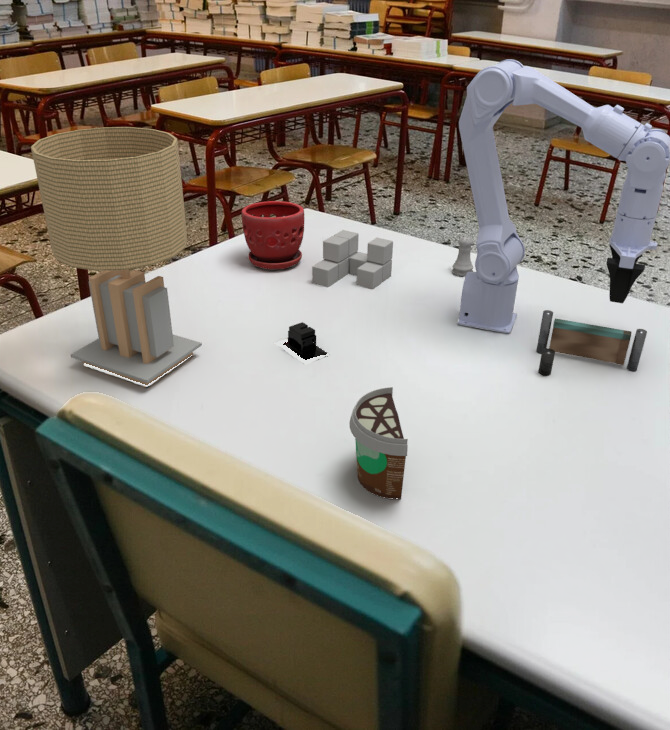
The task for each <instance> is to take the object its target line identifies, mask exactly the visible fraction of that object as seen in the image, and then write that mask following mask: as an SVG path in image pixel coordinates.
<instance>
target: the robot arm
mask: <svg viewBox="0 0 670 730" xmlns="http://www.w3.org/2000/svg"><path fill="white" fill-rule="evenodd" d="M511 104H512V106H514V107H516V106H525V105H538V106H539V107H541V108H544V109H545V110H547V111H548V112H550V113H552V114H555V115H556V116H558V117H561V118H563V119H565V120H566V121H568V122H570V123H572V124H574V125H576V126H577V127H580V128H581V131H582V134H583V138H584V140H585V141H586V142H588V143H590V144H591V145H593V146H595V147H596V148H598V149H600V150H601V151H603V152H605V153H607V154H609V155H610V156H612V157H613V158H615V159H617V160H618V161H621V162H622V161H623V162H625V164H626V167H627V173H626V177H625V180H624V181H623V184H622V189H621V194H620V198H619V202H618V206H617V210H616V214H615V215H616V216H615V220H614V224H613V228H612V233H611V236H609V239H608V243H609V244H608V245H609V248H610V253H611V257H607V258H606V268H607V270H608V274H609V302H612V303H618V304H624V303H625V301H626V299H627V298H628V296H629V293H630V291H631V290H632V286H633V285H634V284H635V282H636V281H637V279H638V278H639V277H640V275H642V274H643V273H644V271H645V269H646V264H640V263H638V261H639V260H640V259H641V257H642V255H643V254H645V252H647V251H648V250H653V251H655V250H657V247H658V242H657V241H653V240H651V239H652V234H653V230H654V226H655V222H656V218H657V216H658V212H659V211H658V210H659V206H660V203H661V199H662V195H663V191H664V183H665V180H666V177H667V174H666V172H667V169H668V167H669V166H670V135H668V134H667V133H666V131H664V130H663V129H660V128H653V126H652V124H650V123H648V122H646V123H645V124H643V123H641V122H640V121H638V120H636V119H634V118H632V117H631V116H629V115H627V114H625V113H623V112H624V110H625V108H624V107H622V106H621V105H619V104H616V105H615V106H614V107H613V106H611V105H610V104H605V105H602V106H598V107H595V106H593V105H591V104H590V103H589V102H586V101H585V100H584V99H582V98H581V97H579V96H577V95H575V94H574V93H572V92H571V91H569V90H568V89H566V88H565V87H564V86H561V85H560V84H558V83H557V82H556V81H554V80H553V79H551V78H549V77H548V76H546V75H544V74H543V73H541V72H540V71H538V70H537V69H535V68H533V67H532V66H528V65H525V66H524V65H523V64H522V63H521V62H520V61H518V60H516V59H504V60H501V61H499V62H497V64H494V65H490V66H489V65H488V66H486V67H483V68H482V69H480V71H478V73H477V74H475V76H474V77H473V79H472V80H471V81H470V82H469V84H468V85H467V87H466V97H465V100H464V105H463V108H462V111H461V114H460V116H459V120H458V129H459V134H460V138H461V142H462V143H461V144H462V149H463V154H464V159H465V165H466V170H467V174H468V180H469V184H470V189H471V192H472V198H473V204H474V209H475V214H476V219H477V224H478V234H477V238H476V242H475V243H476V244H475V247H476V250H477V251H476V252H477V253H476V258H475V262H474V268H475V271H473V272H467V274H466V276H465V277H464V279H463V284H462V291H461V298H460V307H459V314H458V315H459V316H458V321H457V324H458V325H459V326H460V325H461V326H465V327H471V328H477V329H482V330H486V331H487V330H488V331H491V332H497V333H503V334H511V332H512V329H513V326H514V323H515V321H516V318H517V316H518V314H517V313H516V312H514V310H515V309H514V308H515V303H516V296H517V289H518V284H519V283H518V282H519V277H520V276H519V272H518V268H517V266H518V265H520V263H521V262H522V261H523V259H524V257H525V254H526V247H525V244H524V242H523V240H522V239H521V238H520V236H519V235H518V231H517V227H516V225H515V224H514V222H513V221H512V220H511V219H510V215H509V210H508V204H507V198H506V193H505V187H504V182H503V176H502V171H501V167H500V161H499V155H498V151H497V150H498V149H497V146H496V145H497V144H496V140H495V134H494V125H495V124H496V123H497V121H498V120H499V118H500V117H501V115H502V114H503V113H504V111H505V110H506V108H507V107H509V106H510V105H511Z"/></svg>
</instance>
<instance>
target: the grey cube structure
mask: <svg viewBox="0 0 670 730" xmlns="http://www.w3.org/2000/svg"><path fill="white" fill-rule="evenodd" d="M393 249H394V241H393V240H391V239H385V238H381V237H375V238H374V239H372V240H370V241H369V242H367V252H366V253H365V252H361V251H359V233H358V232H354V231H350V230H345V229H342V230H340V231H339V232H337V233H335V234H334V235H331V236H330V237H327V238H326V239H324V240H322V259H323V260H321V261H319V262H317V263H316V264H314V265H312V266H311V269H312V270H311V271H312V273H311V274H312V275H311V276H312V277H311V279H312V281H311V282H312V283H311V284H313V285H318V286H321V287H325V288H329V287H331V286H332V285H334V284H335V283H337V282H338V281H340V280H341V279H343V278H345V277H346V276H348V275H351V276H355V277H356V286H358V287H362V288H366V289H369V290H375V289H376V288H378V286H380V285H381V284H383V283H384V282H385V281H387V280H389V279H390V278H391V277H392V272H393V271H392V269H393V268H392V267H393V260H392V259H393V252H394V251H393ZM358 251H359V252H358Z"/></svg>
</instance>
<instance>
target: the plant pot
mask: <svg viewBox="0 0 670 730" xmlns="http://www.w3.org/2000/svg"><path fill="white" fill-rule="evenodd" d="M271 215H274V217H273V216H272V217H271ZM241 225H242V230H243V235H244V240H245V242H246V246H247V248H248V249H249V252H248V255H247V257H248V258H247V259H248V261H249V262H250V263H251V264H252V265H254V266H255V267H257V268H261V269H265V270H273V271H274V270H286V269H289V268H291V267H294V266H295V265H298V263H299V262H300V261H301V260H302V257H303V253H302V251H301V250H300V247H301V246H302V243H303V240H304V232H305V209H304V208H303V206H302V205H300V204H298V203H294V202H289V201H280V200H271V201H269V200H268V201H260V202H255V203H251V204H249V205H246V206H244V207H243V208H242V209H241Z"/></svg>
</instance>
